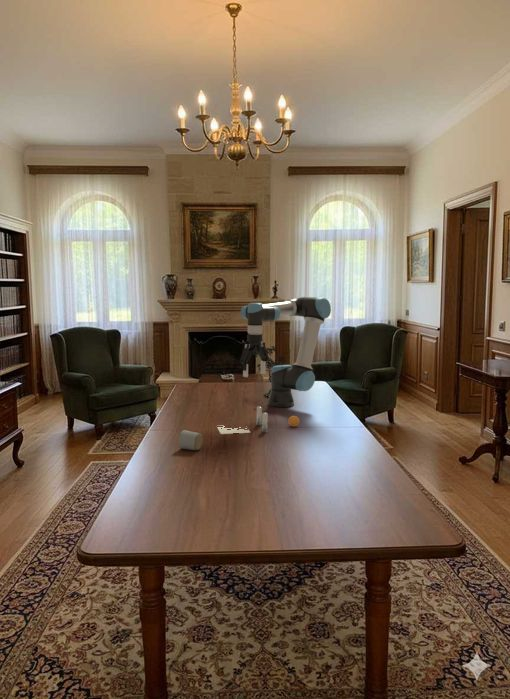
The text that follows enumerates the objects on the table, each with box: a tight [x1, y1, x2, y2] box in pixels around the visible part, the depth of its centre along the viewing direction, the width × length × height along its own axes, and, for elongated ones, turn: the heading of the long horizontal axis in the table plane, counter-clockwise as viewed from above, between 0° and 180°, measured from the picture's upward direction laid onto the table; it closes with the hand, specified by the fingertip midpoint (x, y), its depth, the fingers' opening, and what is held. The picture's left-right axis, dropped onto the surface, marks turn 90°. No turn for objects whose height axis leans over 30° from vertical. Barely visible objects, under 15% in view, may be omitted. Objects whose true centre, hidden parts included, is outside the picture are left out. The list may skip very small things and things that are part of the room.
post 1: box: [256, 405, 263, 426], centre depth 248 cm, size 2×2×9 cm
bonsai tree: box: [252, 345, 286, 397], centre depth 311 cm, size 35×24×32 cm
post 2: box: [261, 411, 269, 433], centre depth 236 cm, size 2×2×9 cm
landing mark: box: [216, 425, 251, 435], centre depth 239 cm, size 14×14×1 cm
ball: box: [287, 415, 300, 428], centre depth 245 cm, size 6×6×6 cm
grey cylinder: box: [178, 429, 204, 451], centre depth 210 cm, size 11×8×8 cm
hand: (254, 375), depth 255 cm, fingers open, 13 cm apart
